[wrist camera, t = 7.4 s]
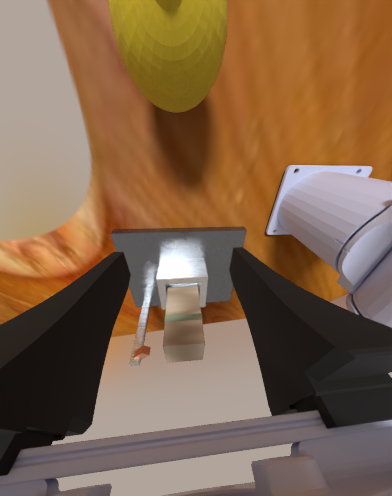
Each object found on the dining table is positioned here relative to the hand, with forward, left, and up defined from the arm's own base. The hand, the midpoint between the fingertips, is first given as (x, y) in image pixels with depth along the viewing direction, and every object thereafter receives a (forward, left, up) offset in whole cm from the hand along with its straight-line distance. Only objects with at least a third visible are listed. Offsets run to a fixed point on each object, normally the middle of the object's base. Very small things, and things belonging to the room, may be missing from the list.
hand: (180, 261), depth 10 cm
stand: (0, +9, -9) cm, 13 cm away
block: (0, +9, -4) cm, 10 cm away
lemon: (0, -11, -9) cm, 14 cm away
